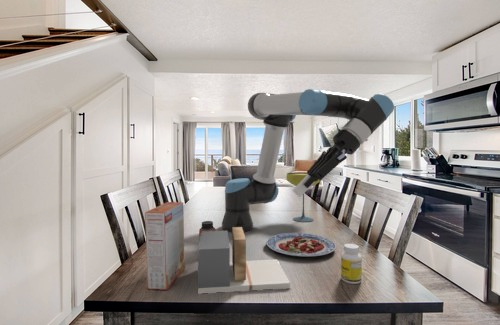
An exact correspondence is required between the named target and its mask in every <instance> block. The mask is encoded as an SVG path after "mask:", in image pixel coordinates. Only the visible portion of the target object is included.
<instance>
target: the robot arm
mask: <svg viewBox="0 0 500 325" xmlns="http://www.w3.org/2000/svg"><path fill="white" fill-rule="evenodd" d="M247 110H248V112H249V114H250V115H251V116H252V117H253V118H255V119H258V120H262V123H263V125H264V126H265V128H264V134H263V138H262V144H261V149H260V154H259V158H258V165H257V170H256V173H254V174H253V175H252V179H251V180H250V178H245V177H244V178H234V179H231V180H228V181H226V183H225V188H224V195H225V196H224V203H225V205H224V206H225V207H224V209H225V212H224V215H223V219H222V221H221V229H222V231H228V232H231V233H232V227H242V229H243V232H248V231H252V230H253V229H254V221H253V219H252V216H251V212H250V205H259V204H260V205H261V204H268V203H272V202H274V201H275V200H276V199H277V197H278V195H279V188H278V187H279V185H278V183H277V181H276V180H277V179H276V178H275V177H274V176H275V172H276V168H277V167H276V166H277V163H278V158H279V153H280V149H281V145H282V140H283V135H284V131H285V130H286V129H288V126H289V123H291V122H292V121H294V120H295V118H296V116H313V117H314V116H317V117H329V118H339V119H346V120H348V121H347V122H346V123H345V124H344V125H343V126H342V128H341V129H339V131H338V132H337V133H336V134H334V136H333V137H332V141H333V143H334V145H332V146H330V147H329V148H328V149H327V150H324V151H322V153H321V154H320V156H318V158H317V159H316V161H315V162H314V163H313V164H312V165H311V167H310V168H309V169H308V170H307V171H306V172H307V173H308V174H307V176H306V177H305V178H304V179H303V180H302V181H301V182H300V183H299V184H298V185H297V186H295V187H294V188H293V189H292V191H293V193H295V195H297V197H298V198H302V197H303V194H304V195H305V193H306V192H307V191H308V190H309V189H310V188H311V187H313V186H312V184H313V183H314V182H316V181H318V179H319V180H320V181H322V180H323V179H324V178H325V177H326V176H327V175H328V174H330V172H332V171H333V170H334V169H335V168H337V166H338V165H340V164H341V163H342V162H344V161H345V160H347V158H348V156H346V154H347V155H353V154H354V153H356V151H357V150H359V148H360V147H361V145H363V144H364V143H365V142H368V140H369V139H368V138H370V137H371V135H372V134H373V133H374V132H375V131H376V130H377V129H379V127H380V126H382V124H383V123H385V122H386V121H387V119H388V118H389V117H390V115H391V114H392V113H393V112H394V110H395V104H394V102H393V100H392V99H391V98H390V97H389V96H387V95H386V94H383V93H377V94H374V95H373V96H371V97H370V98H369V99H368V98H363V97H359V96H355V95H353V94H349V93H345V92H332V91H326V90H321V89H318V88H316V89H315V88H313V89H312V88H308V89H305V90H304V91H301V92H300V91H299V92H289V93H277V94H276V93H269V92H268V93H267V92H257V93H254V94H253V95H251V96H250V98H249V99H248V102H247Z"/></svg>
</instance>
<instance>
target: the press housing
mask: <svg viewBox="0 0 500 325" xmlns="http://www.w3.org/2000/svg"><path fill="white" fill-rule="evenodd" d="M230 248H231V247H230V240H229V231H225V230H216V231H202V233H201V237H200V242H198V248H197V279H198V280H197V284H198V286H197V287H198V288H197V290H198V295H202V294H201V293H208V294H217V293H216V292H225V293H234V292H233V291H241V292H250V291H249V290H257V291H264V290H263V289H273V290H287V288H290V289H291V282H290V280H289V278H288V276H287V274H286V273H285V271H284V269H283V267H282V266H281V264H280V262H279V260H278V259H260V260H258V259H257V260H246V280H237V281H235V279H234V271H233V264H232V261H231V260H230V257H231V256H230V254H231V250H230ZM230 291H232V292H230Z"/></svg>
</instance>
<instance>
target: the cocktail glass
mask: <svg viewBox="0 0 500 325" xmlns="http://www.w3.org/2000/svg"><path fill="white" fill-rule="evenodd" d="M307 174H308V173H307V171H306V172H303V171H301V172H300V171H299V172H298V171H297V172H293V171H292V172H287V173H286V180H287V182H288V183H289V184H291V185H292V186H295V187H296V186H297V185H298V184H299V183H300V182H301V181H302V180H303V179H304V178H305V177H306V176H307ZM320 182H321V180H319V179H318V181H316V182H314V183H313V184H312V186H311V187H313V186H315V185H317V184H319V183H320ZM292 220H293V221H295V222H299V223H310V222H314V218H312V217H309V216H306V215H305V193H304V194H303V195H302V213H301V216H296V217H293V218H292Z"/></svg>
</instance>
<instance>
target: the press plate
mask: <svg viewBox="0 0 500 325" xmlns="http://www.w3.org/2000/svg"><path fill="white" fill-rule="evenodd" d="M244 232H245V231H243V229H242V227H232V232H231V234H232V236H231V237H232V239H231V243H232V244H231V250H232V252H231V253H232V255H231V256H232V258H231V260H232V261H231V262H232V264H233V271H234V279H235V281H237V280H246V261H247V239H246V235H245V233H244Z"/></svg>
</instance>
